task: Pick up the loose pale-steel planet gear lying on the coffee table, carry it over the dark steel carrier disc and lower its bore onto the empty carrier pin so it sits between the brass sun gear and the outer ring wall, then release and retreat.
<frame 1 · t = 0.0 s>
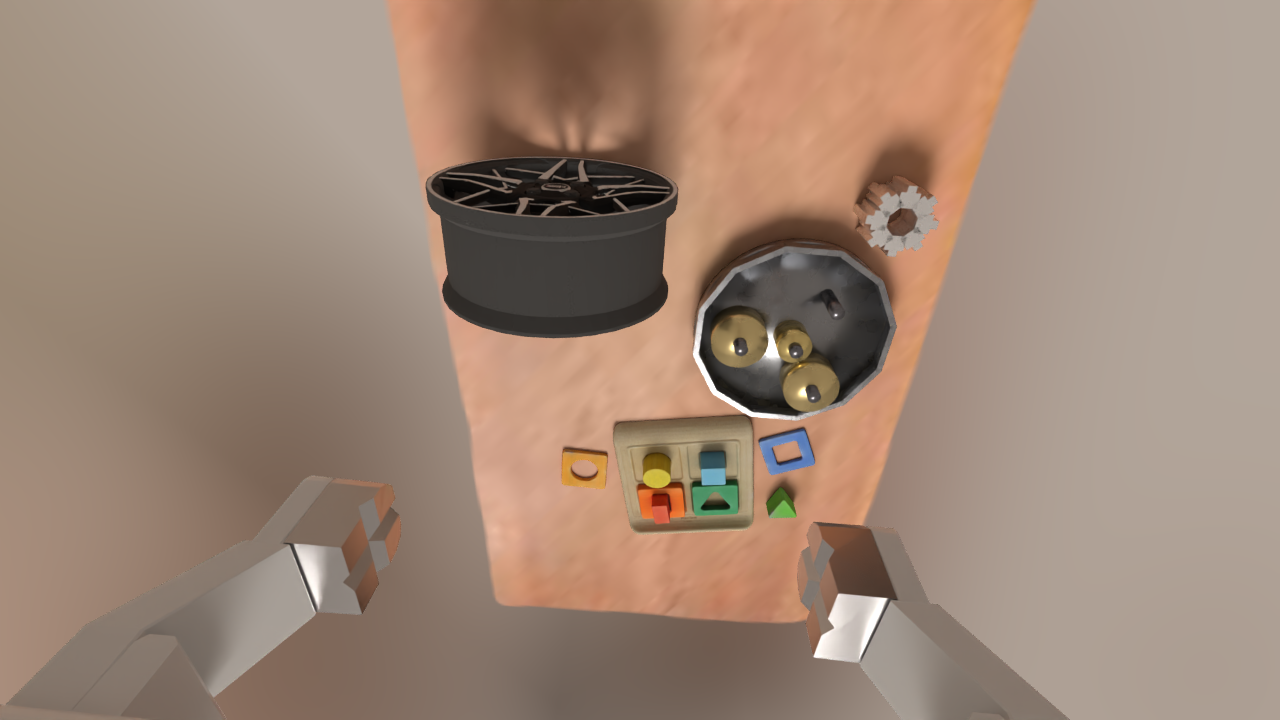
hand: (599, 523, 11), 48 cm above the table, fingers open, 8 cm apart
carrier: (787, 329, 62), on the table
planet gear: (887, 210, 54), on the table
shape sorter: (685, 471, 74), on the table
wheel rim: (575, 204, 56), on the table
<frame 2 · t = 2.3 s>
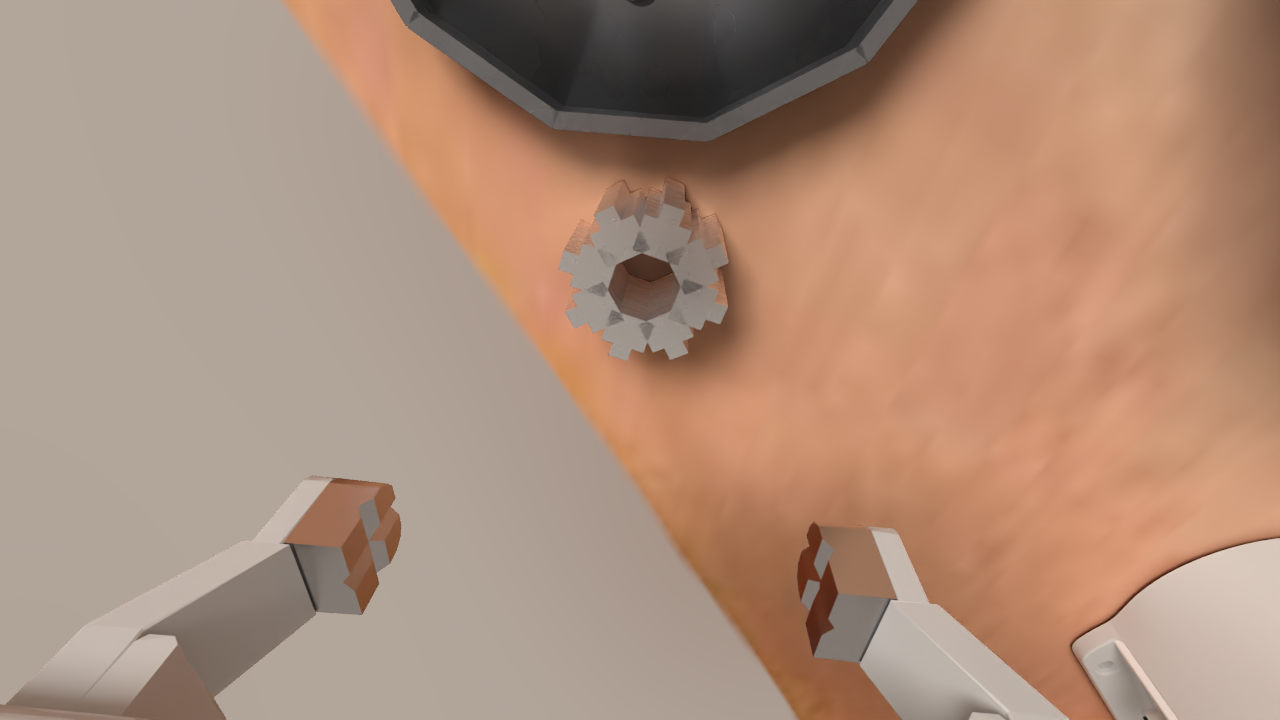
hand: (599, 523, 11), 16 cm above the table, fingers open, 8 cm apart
planet gear: (649, 252, 24), on the table
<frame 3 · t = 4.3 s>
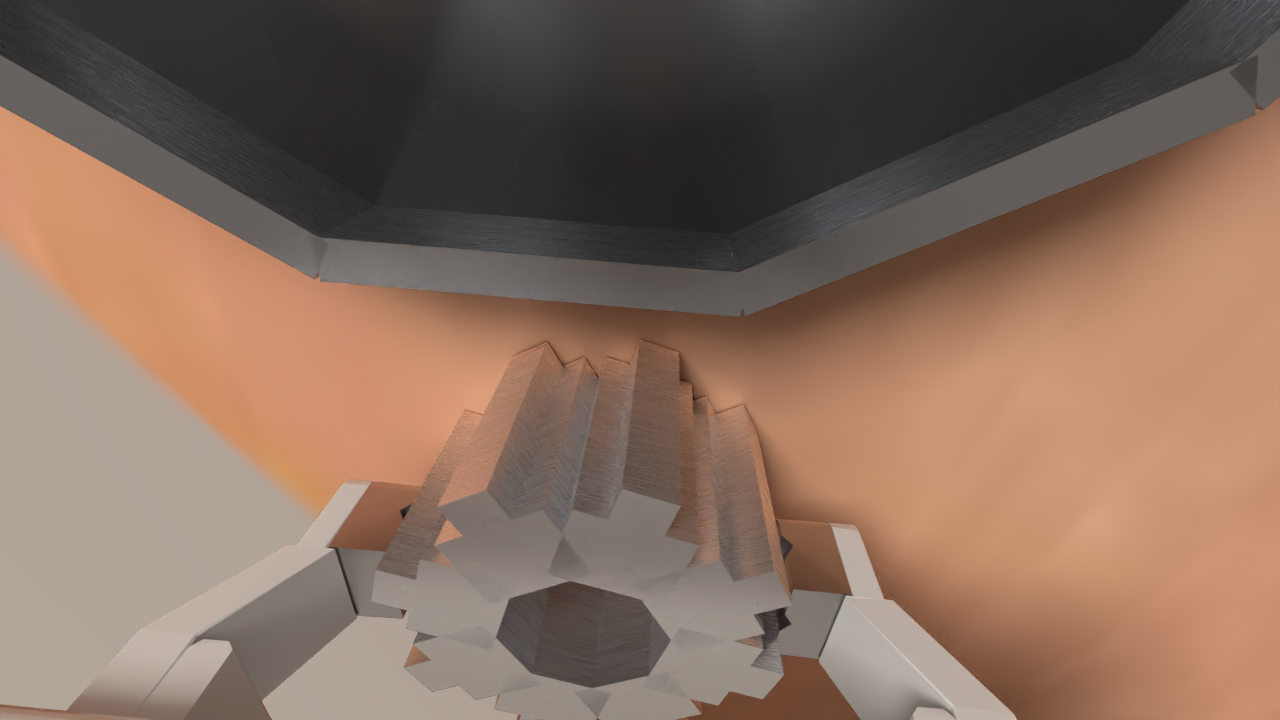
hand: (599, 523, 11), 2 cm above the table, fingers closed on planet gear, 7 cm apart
planet gear: (608, 467, 12), on the table, touching gripper
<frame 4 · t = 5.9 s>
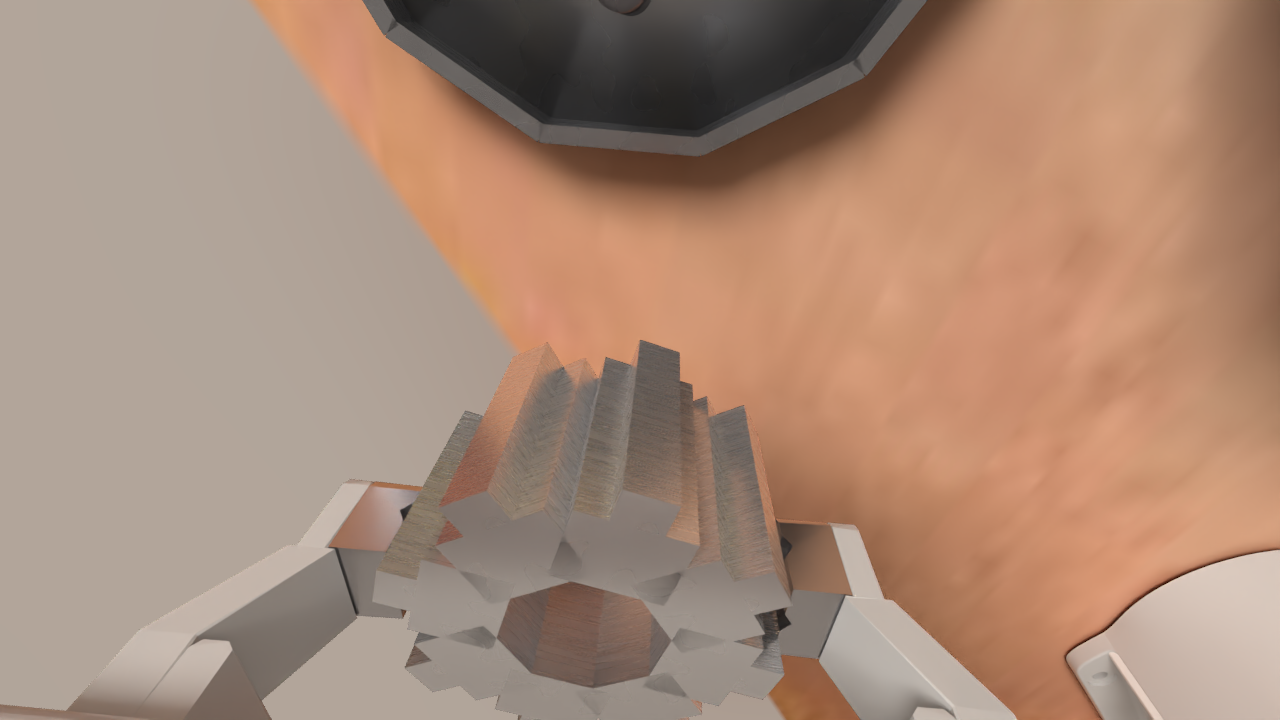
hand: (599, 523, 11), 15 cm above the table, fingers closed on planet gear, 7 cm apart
planet gear: (609, 468, 12), point 13 cm above the table, touching gripper
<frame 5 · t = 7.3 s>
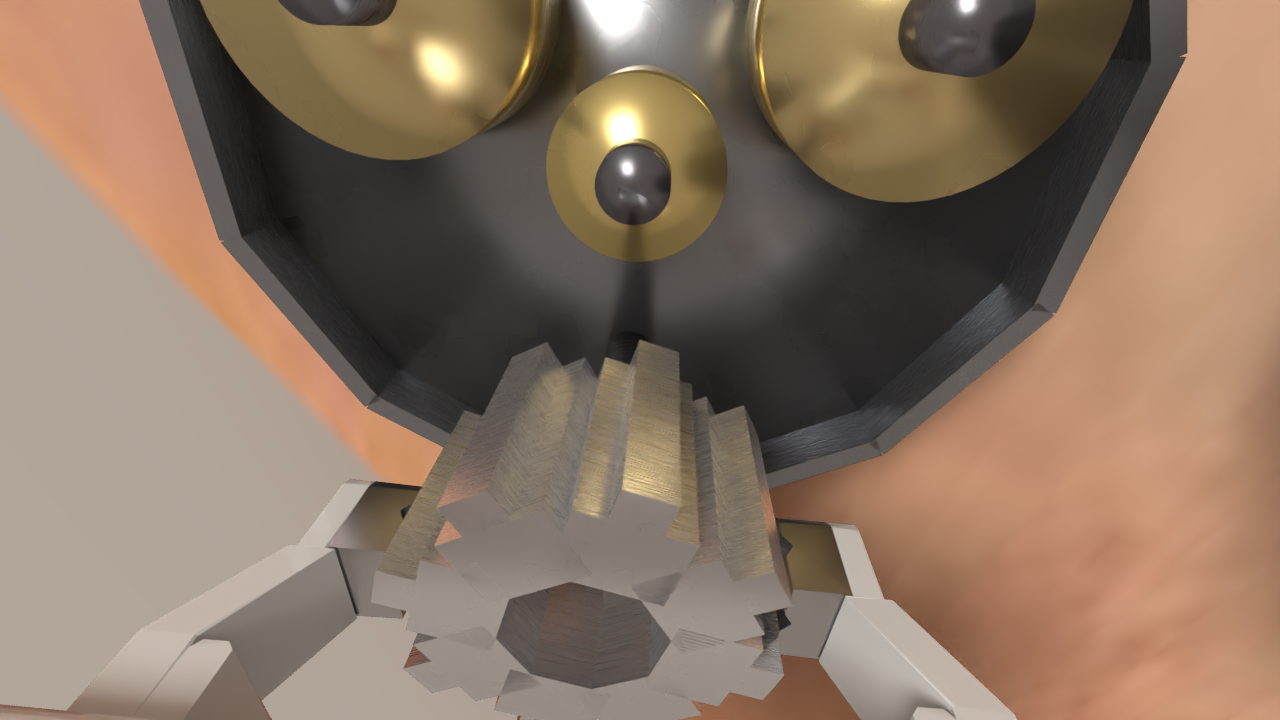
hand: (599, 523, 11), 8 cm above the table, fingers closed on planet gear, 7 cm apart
carrier: (646, 140, 15), on the table
planet gear: (608, 468, 12), point 6 cm above the table, touching gripper
when the fingers open (4 cm above the table, at t = 9.1 s): planet gear stays where it is, resting on carrier.
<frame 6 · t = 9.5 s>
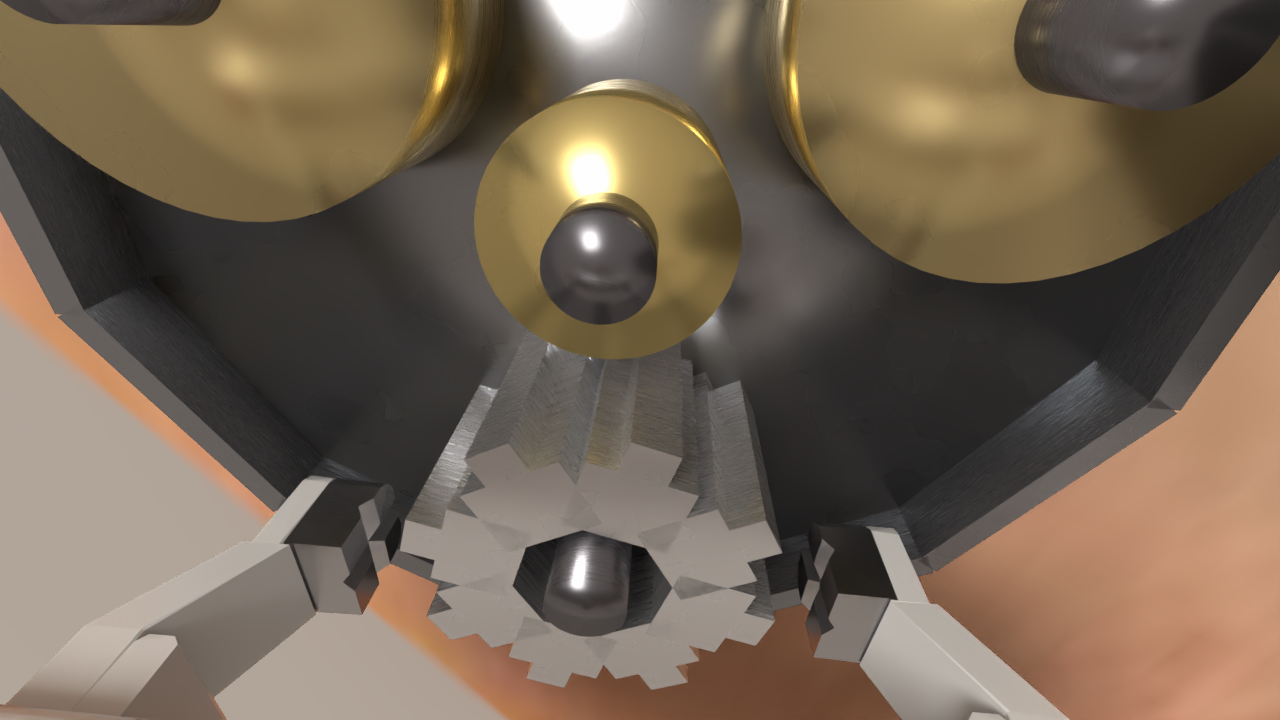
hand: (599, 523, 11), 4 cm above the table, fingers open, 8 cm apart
carrier: (629, 175, 11), on the table
planet gear: (613, 440, 13), point 1 cm above the table, touching carrier
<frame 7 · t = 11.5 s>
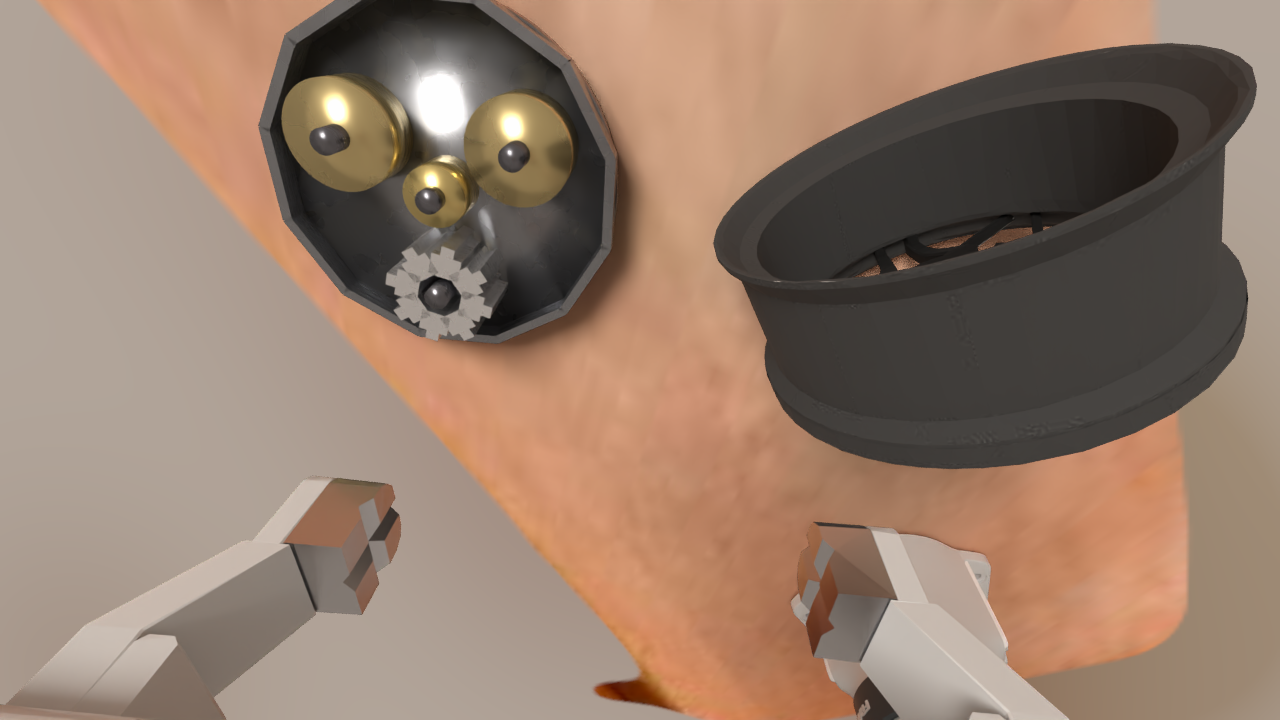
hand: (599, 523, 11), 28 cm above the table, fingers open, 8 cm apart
carrier: (457, 180, 36), on the table
planet gear: (460, 271, 38), point 1 cm above the table, touching carrier
wheel rim: (873, 192, 35), on the table
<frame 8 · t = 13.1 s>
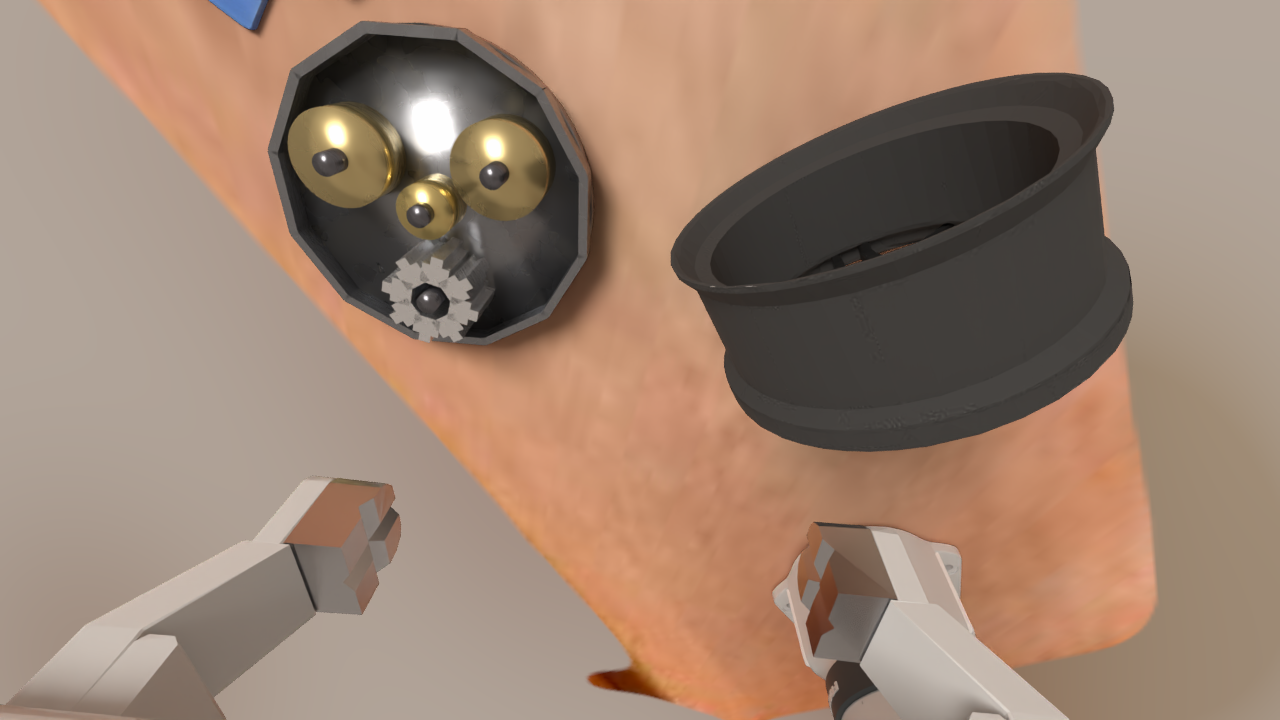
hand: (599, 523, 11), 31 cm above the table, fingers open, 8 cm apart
carrier: (447, 196, 39), on the table
planet gear: (450, 279, 41), point 1 cm above the table, touching carrier
wheel rim: (829, 203, 38), on the table
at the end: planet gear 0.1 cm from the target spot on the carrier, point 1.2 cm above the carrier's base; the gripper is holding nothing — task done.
